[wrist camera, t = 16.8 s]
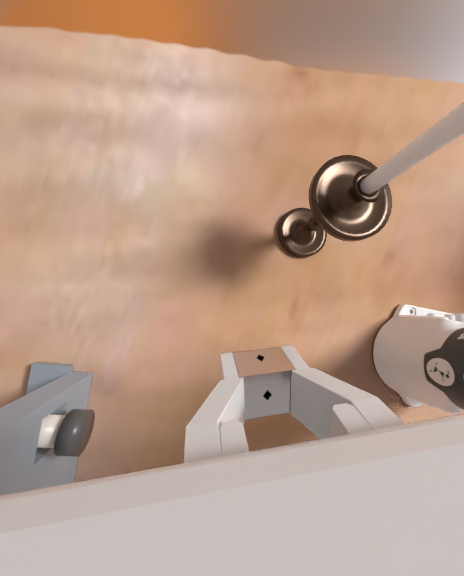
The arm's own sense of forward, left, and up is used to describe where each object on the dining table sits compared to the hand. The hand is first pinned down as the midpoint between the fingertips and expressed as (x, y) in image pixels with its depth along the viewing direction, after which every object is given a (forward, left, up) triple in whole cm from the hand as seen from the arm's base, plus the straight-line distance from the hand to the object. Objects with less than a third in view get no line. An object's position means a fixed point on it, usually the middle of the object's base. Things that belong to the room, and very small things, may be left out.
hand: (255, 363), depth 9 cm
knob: (+20, +11, -23) cm, 33 cm away
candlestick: (-17, -16, -30) cm, 38 cm away
